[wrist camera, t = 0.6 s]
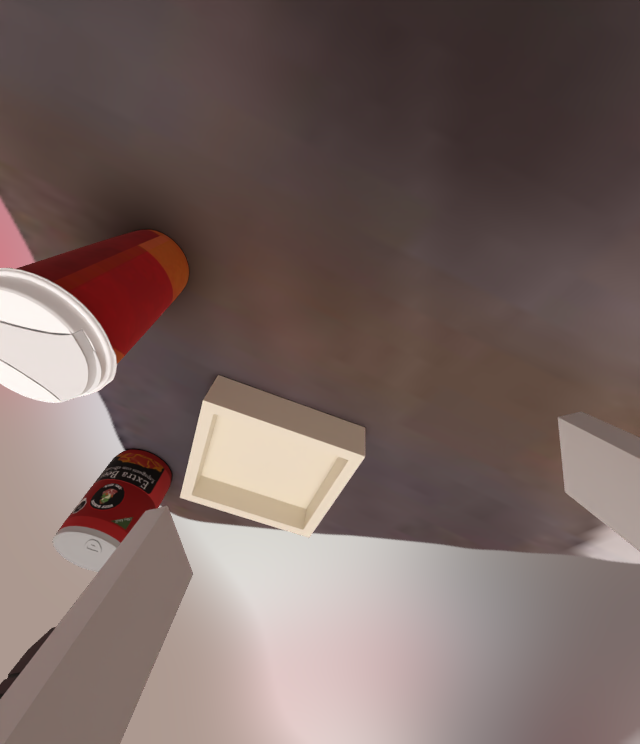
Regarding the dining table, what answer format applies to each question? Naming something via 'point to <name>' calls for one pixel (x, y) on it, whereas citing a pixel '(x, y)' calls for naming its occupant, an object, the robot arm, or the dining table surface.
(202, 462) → the tray
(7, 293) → the paper cup
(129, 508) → the canned food
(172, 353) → the dining table surface
